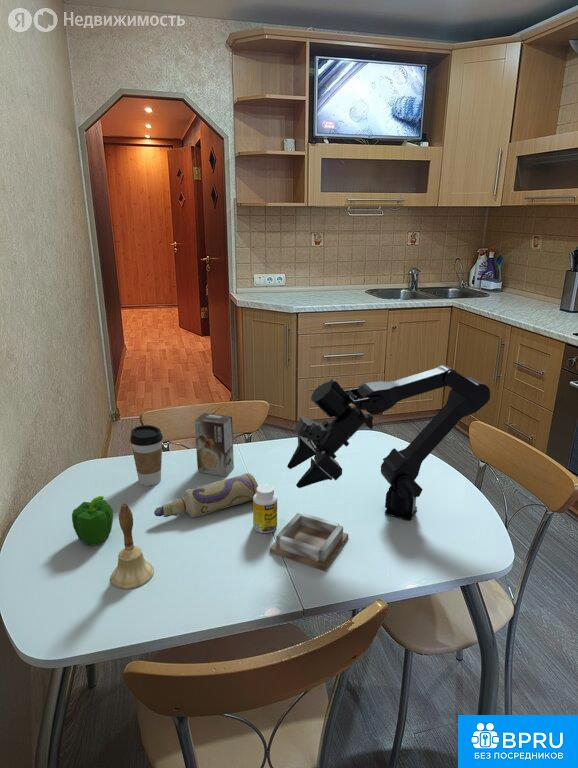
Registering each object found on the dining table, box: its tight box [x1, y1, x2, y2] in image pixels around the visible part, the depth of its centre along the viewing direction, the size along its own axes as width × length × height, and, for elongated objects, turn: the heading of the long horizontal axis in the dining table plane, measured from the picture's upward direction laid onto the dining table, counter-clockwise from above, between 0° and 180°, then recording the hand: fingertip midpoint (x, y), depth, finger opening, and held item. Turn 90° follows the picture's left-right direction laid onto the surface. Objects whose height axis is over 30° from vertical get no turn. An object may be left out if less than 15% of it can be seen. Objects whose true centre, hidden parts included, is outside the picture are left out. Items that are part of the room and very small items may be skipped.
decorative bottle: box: [153, 472, 259, 518], centre depth 122 cm, size 26×8×7 cm, turn 120°
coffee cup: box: [129, 424, 164, 487], centre depth 134 cm, size 8×8×15 cm
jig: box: [269, 512, 349, 572], centre depth 109 cm, size 13×13×4 cm
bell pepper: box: [71, 495, 114, 546], centre depth 109 cm, size 8×8×10 cm
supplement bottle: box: [252, 483, 278, 534], centre depth 114 cm, size 6×6×10 cm
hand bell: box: [110, 502, 155, 590], centre depth 97 cm, size 8×8×16 cm
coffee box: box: [194, 412, 235, 477], centre depth 140 cm, size 9×6×16 cm
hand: (292, 476), depth 113 cm, fingers open, 9 cm apart
